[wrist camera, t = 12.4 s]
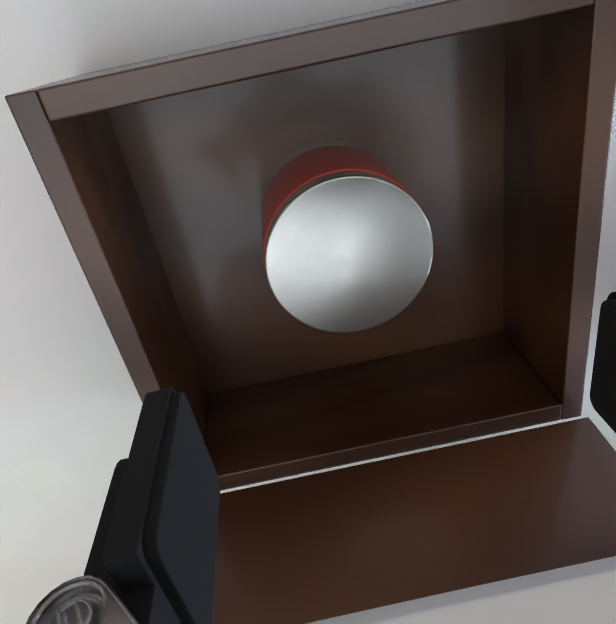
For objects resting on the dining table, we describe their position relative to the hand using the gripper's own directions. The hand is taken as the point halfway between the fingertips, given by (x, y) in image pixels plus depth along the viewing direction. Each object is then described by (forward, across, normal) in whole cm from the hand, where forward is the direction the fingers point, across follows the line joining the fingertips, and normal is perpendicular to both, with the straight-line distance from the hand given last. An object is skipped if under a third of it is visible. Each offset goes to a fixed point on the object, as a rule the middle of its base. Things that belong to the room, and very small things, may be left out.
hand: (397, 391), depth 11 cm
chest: (+14, 0, +1) cm, 14 cm away
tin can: (+13, 0, 0) cm, 13 cm away
